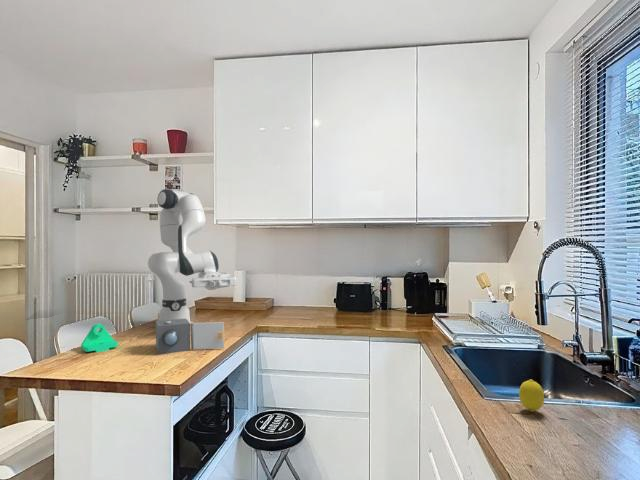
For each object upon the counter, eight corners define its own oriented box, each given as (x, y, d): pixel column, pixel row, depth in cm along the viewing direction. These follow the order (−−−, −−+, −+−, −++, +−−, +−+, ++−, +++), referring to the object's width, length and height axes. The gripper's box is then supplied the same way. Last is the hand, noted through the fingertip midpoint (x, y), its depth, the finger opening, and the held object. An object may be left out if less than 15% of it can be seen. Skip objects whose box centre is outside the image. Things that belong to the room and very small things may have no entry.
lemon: (523, 415, 97) (523, 382, 97) (516, 406, 102) (515, 375, 102) (548, 417, 96) (547, 384, 96) (539, 407, 101) (538, 376, 101)
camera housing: (155, 347, 166) (155, 319, 166) (186, 343, 171) (185, 316, 171) (158, 355, 153) (158, 325, 153) (191, 351, 158) (190, 322, 158)
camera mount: (86, 354, 157) (86, 328, 157) (81, 351, 162) (80, 325, 162) (118, 348, 165) (118, 324, 165) (112, 345, 170) (112, 321, 170)
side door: (224, 347, 162) (223, 322, 162) (223, 348, 161) (223, 322, 161) (191, 348, 161) (191, 323, 161) (190, 349, 159) (190, 323, 160)
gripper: (188, 274, 186) (193, 277, 173) (232, 273, 195) (239, 276, 182) (188, 288, 186) (193, 292, 173) (232, 286, 195) (239, 289, 182)
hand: (217, 284), depth 178 cm, fingers closed
